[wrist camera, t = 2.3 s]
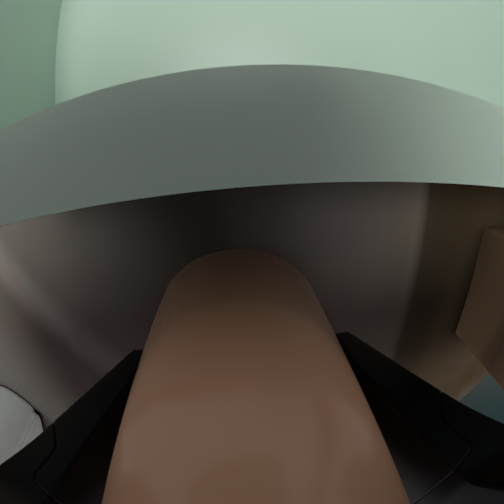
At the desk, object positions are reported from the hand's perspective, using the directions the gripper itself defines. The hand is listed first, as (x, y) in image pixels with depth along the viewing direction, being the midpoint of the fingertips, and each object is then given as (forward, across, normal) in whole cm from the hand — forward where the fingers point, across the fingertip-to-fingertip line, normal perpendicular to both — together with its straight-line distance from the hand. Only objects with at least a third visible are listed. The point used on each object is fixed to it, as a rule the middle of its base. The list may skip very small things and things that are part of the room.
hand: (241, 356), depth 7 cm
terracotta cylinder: (+2, 0, 0) cm, 2 cm away
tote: (+2, -4, -13) cm, 14 cm away
